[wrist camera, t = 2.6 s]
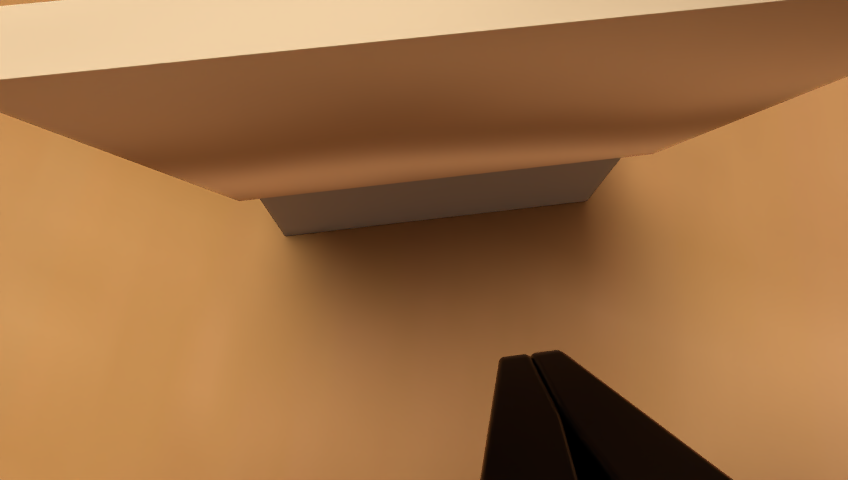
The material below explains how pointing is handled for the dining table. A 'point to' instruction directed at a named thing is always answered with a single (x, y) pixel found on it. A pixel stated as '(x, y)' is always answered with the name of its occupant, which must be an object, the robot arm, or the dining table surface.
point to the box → (437, 197)
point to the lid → (402, 81)
